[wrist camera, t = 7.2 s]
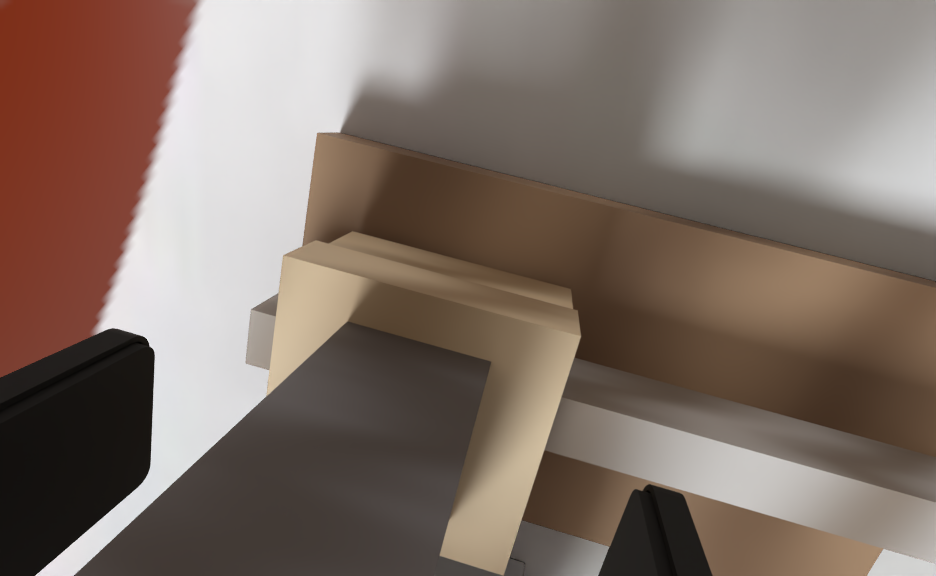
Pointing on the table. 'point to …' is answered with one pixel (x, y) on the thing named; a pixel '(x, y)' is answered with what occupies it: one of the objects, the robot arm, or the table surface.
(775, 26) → the table surface
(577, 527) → the slide rail
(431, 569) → the carriage
